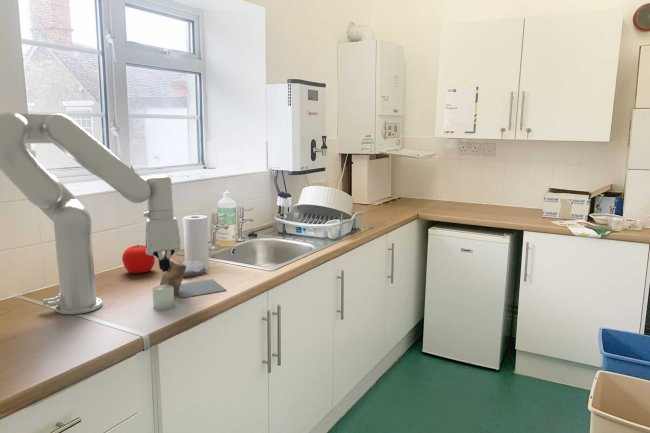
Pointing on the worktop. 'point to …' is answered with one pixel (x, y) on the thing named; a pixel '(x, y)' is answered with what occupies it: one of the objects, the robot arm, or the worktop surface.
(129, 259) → the tomato
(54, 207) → the robot arm
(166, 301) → the rounded cube
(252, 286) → the worktop surface
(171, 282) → the brown wooden block
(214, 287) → the mat
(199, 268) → the stone block
